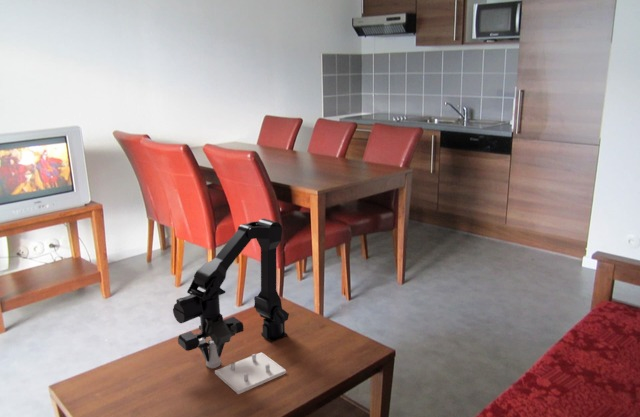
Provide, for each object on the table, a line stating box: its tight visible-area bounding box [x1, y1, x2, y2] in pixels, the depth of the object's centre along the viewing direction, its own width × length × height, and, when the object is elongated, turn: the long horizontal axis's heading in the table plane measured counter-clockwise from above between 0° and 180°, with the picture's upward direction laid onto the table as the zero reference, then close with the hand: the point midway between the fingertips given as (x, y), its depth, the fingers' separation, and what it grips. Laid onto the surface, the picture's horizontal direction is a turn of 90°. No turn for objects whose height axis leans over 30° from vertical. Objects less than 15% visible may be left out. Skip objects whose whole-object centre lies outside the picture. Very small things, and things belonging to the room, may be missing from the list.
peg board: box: [214, 352, 287, 395], centre depth 157 cm, size 16×13×3 cm
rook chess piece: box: [205, 338, 222, 369], centre depth 160 cm, size 4×4×8 cm
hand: (213, 358), depth 161 cm, fingers closed on rook chess piece, 3 cm apart
